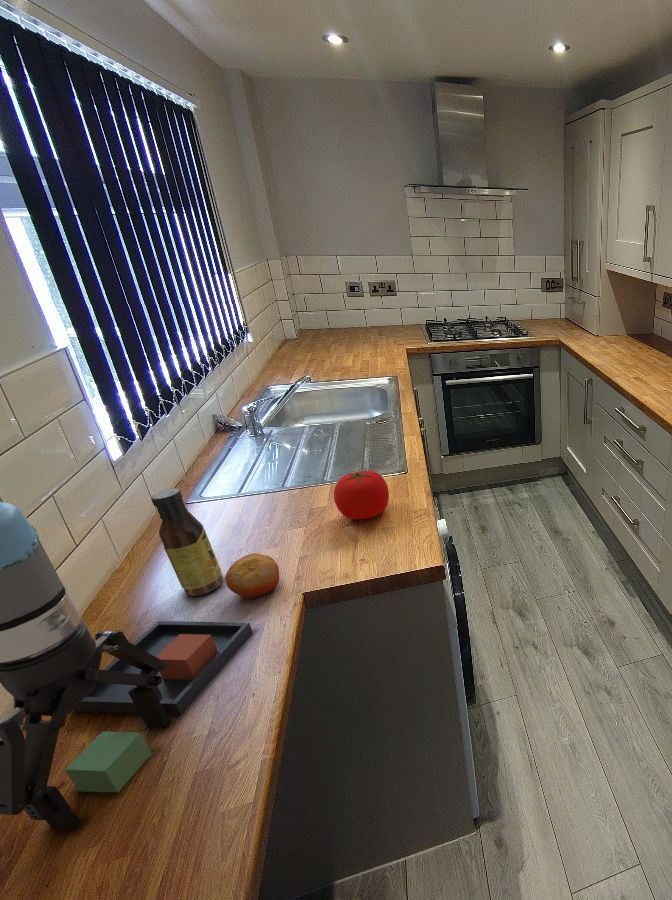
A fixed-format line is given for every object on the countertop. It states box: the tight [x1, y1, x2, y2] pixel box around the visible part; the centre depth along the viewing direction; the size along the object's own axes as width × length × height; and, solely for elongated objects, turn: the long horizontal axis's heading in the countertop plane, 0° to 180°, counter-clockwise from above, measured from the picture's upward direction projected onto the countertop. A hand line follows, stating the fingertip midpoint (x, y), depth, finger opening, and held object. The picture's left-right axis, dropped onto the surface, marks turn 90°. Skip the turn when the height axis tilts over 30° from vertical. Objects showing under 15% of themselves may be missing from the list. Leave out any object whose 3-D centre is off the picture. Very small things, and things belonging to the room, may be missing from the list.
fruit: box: [224, 552, 280, 600], centre depth 95 cm, size 8×8×8 cm
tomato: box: [333, 468, 390, 520], centre depth 118 cm, size 11×12×10 cm
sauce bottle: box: [150, 487, 224, 597], centre depth 94 cm, size 7×6×20 cm
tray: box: [72, 620, 254, 716], centre depth 80 cm, size 16×16×2 cm
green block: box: [64, 731, 153, 794], centre depth 64 cm, size 5×5×4 cm
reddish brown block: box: [156, 634, 218, 680], centre depth 79 cm, size 5×5×4 cm
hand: (116, 770), depth 65 cm, fingers open, 12 cm apart
